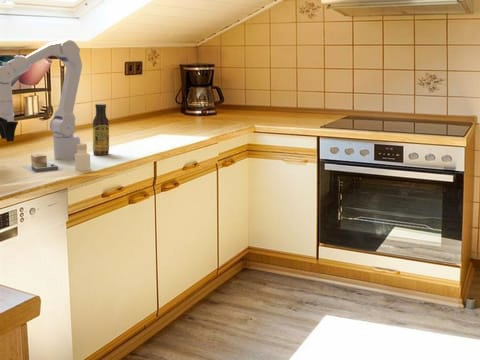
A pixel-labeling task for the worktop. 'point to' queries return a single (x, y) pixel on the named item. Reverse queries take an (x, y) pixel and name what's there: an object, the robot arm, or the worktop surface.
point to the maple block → (39, 160)
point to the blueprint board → (49, 168)
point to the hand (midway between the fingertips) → (7, 139)
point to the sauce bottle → (100, 131)
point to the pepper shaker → (82, 158)
